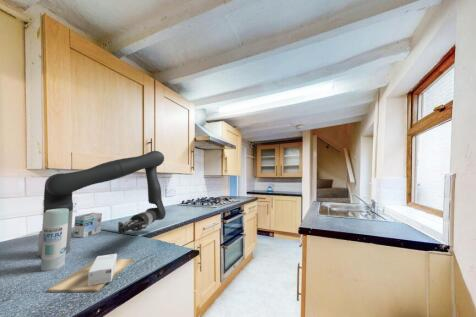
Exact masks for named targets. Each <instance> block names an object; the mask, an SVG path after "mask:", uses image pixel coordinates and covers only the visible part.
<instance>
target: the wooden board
mask: <svg viewBox="0 0 476 317" xmlns="http://www.w3.org/2000/svg"><path fill="white" fill-rule="evenodd" d="M94 261H95V260H93V261H92V262H90V263H88V264H87V265H85V266H83V267H82V268H80V269H78V270H77V271H75V272H73V273H72V274H70V275H69V276H67V277H65V278H64V279H62V280H61V281H59V282H56V283H55V284H54V285H52V286H50V287H49V288H47V290H46V292H47V293H52V292H53V293H54V292H55V293H56V292H57V293H58V292H59V293H66V292H67V293H69V292H71V293H73V292H74V293H77V292H78V293H92V292H93V293H95V292H96V293H97V292H98V291H100V290H101V289H102V288H104V286H106V285H107V284H108V283H109V282H106V283H101V284H96V285H91V286H88V272H89V270H90V268H91V267H92V265H93V263H94ZM134 261H135V259H134V258H116V267H115V271H114V274H113V277H112V280H113V279H114V278H115V277H116V276H117V275H119V274H120V273H121V272H122V271H123V270H124V269H126V268H127V267H129V265H131V264H132V263H133V262H134Z"/></svg>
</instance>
